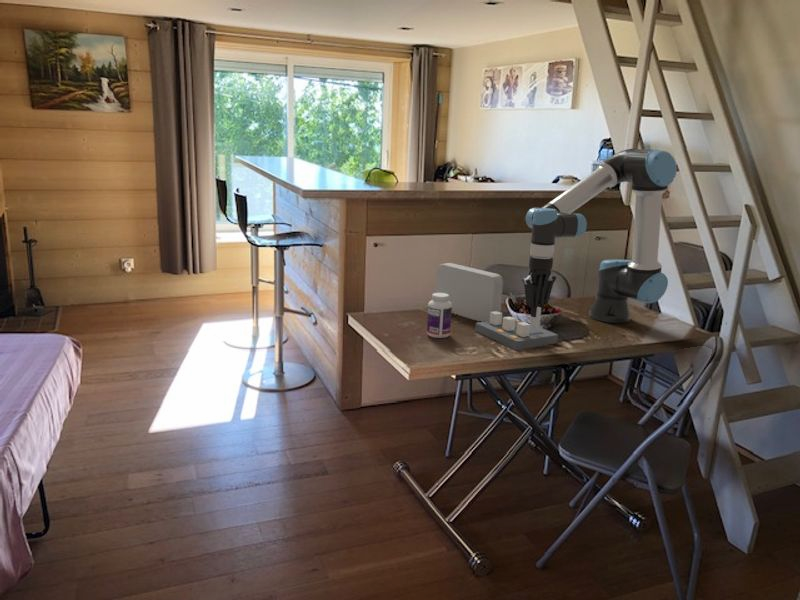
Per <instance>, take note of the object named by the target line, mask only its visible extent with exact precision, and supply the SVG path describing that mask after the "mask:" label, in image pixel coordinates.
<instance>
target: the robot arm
mask: <svg viewBox="0 0 800 600" xmlns="http://www.w3.org/2000/svg"><path fill="white" fill-rule="evenodd" d="M677 167H678V166H677V163H676V160H675V158H674V156H672V154H671V153H670V152H668V151H665V150H659V149H648V148H647V149H646V148H645V149H644V148H627V149H625V150H621V151H619V152H617V153H615V154H612V155H611V156H609V157H608V158H606V159H604V160H602V161H601V162H600V163H599V164H597V166H596V168H595V170H593V171H592V172H591V173H589V174H588V175H586V176H585V177H583V178H582V179H581V180H579V181H577V182H575V184H573V185H572V186H571V187H569V188H568V189H566V190H565V191H564V192H562V193H561V194H559V195H558V196H556V197H555V198H553V199H552V200H550V201H549V202H548V203H546V204H545V205H543V206H541V207H531V208H530V209H529V210H528V211H527V212H526V215H525V223H526V225H527V226H528V228H529V229H531V237H530V240H531V241H530V249H529V251H530V252H529V254H530V256H529V260H528V261H529V262H528V268H529V272H528V275H527V277H526V278H525V277H523V278H522V283H523V285H524V286H523V287H524V297H525V304H526V305H527V306H529V307H530V324H531V325H532V326H535V327H541V326H540V325H541V317H542V314H543V309H545V307H546V305H548V304H549V300H550V297H551V294H552V289H553V285H554V283H555V281H556V280H557V277H556V276H555V275H552V271H551V270H552V269H553V265H554V258H553V257H554V254H555V244H556V239H559V238H575V237H576V238H577V237H580V236H583V234H585V232H586V230H587V228H588V226H587V225H588V223H587V219H586V217H585V216H584V215H583V214H581V213H575V212H576V210H578V209H579V208H580V207H582V206H583V205H585V204H586V203H588V202H589V201H590V200H592V199H593V198H595V197H596V196H597V195H600V193H602V192H603V191H604V190H606V189H607V188H614V187H615V186H616V185H618V184H620V183H626V182H628V183H631V191H632V192H633V193H634V194H635V205H634V207H635V208H634V218H633V219H634V222H633V223H634V224H633V241H632V256H631V257H632V258H631V259H618V258H615V259H603V260H602V261H601V262H600V265H599V269H598V277H597V278H598V280H597V286H596V294H595V295H596V296H595V299H594V300H593V301H592V302H593V303H592V305H591V307H590V309H589V314H588V315H589V317H590V318H591V319H593V320H595V321H598V322H603V323H611V324H612V323H613V324H624V323H628V322H630V319H631V313H630V308H629V307H630V306H629V303H628V299H633V300H636V301H638V302H639V303H640V302H641V303H646V304H653V303H656V302H658V301H660V299H661V298H662V297H663V296H664V295H665V293H666V292H667V289H668V286H669V281H668V280H669V279H668V277H667V276H666V274H665V273H663V272H662V267H663V266H662V264H661V263H660V262H659V261H658V260H659V259H658V256H659V247H660V246H659V245H660V244H659V243H660V230H661V229H660V228H661V218H662V217H661V216H662V215H661V214H662V202H663V200H662V199H663V194H664V193H665V192H667V190H668V186H670V185H671V184H672V183H673V182H674V179H675V178H676V175H677ZM574 211H575V212H574Z"/></svg>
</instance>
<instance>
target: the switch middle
mask: <svg viewBox="0 0 800 600" xmlns="http://www.w3.org/2000/svg"><path fill="white" fill-rule="evenodd" d="M502 319H503V324H502V329H504V330H506V331H512V330H515V321H516V319H515V318H514V317H512V316H502Z"/></svg>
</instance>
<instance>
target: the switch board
mask: <svg viewBox="0 0 800 600" xmlns="http://www.w3.org/2000/svg"><path fill="white" fill-rule="evenodd" d="M520 322H521V321H519V320H517V319H516V321H515V330H512V331H506V330H504V329H502V324H503V318H502V324H500V325H493V324H491V323H489V321H485V322H479V321H477V322H475V326H474V327H475V329H474V330H475V331H474V332H476V331H477V333H478V332H479V333H478V334H480V335H483V336H485V337H487V338H489V339H491V338H492V339H491V340H493V339H494V340H493V341H495V340H496V342H497V341H498V343H499V344H502V345H504V344H505V345H504V346H506V347H508V346H509V347H508V348H510V347H511V349H512V348H513V349H512V350H514V349H515V350H514V351H521V350H526V349H533V348H538V347H544V346H550V345H554V344H555V343H556V344H558V340H559V334H557V333H554V331H553V332H552V331H550V330H548V329H545V328H542V327H541V326H539V327H535V326H532V325H531V323H530V332H529V336H526V337H521V336H519V335H516V331H517V323H520ZM549 344H550V345H549ZM556 344H555V345H556ZM543 345H544V346H543Z"/></svg>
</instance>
